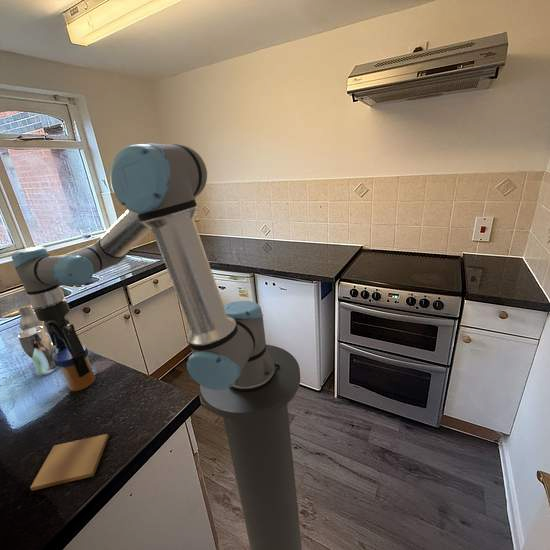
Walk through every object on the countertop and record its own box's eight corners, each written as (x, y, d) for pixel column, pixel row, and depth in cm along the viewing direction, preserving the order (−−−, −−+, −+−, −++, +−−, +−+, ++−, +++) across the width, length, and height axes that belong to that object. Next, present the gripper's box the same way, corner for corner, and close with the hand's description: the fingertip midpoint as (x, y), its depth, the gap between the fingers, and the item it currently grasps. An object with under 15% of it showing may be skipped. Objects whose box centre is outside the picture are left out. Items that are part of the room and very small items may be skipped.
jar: (99, 372, 96) (88, 344, 92) (90, 388, 89) (78, 358, 85) (75, 377, 95) (63, 349, 91) (64, 393, 88) (51, 363, 84)
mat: (109, 436, 72) (107, 433, 72) (93, 476, 63) (92, 473, 63) (55, 448, 70) (53, 445, 70) (31, 491, 61) (29, 487, 61)
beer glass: (64, 365, 102) (48, 327, 96) (43, 378, 96) (24, 339, 90) (52, 361, 104) (36, 324, 99) (30, 374, 99) (11, 335, 93)
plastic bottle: (47, 351, 110) (26, 303, 103) (62, 352, 109) (41, 304, 102) (31, 363, 105) (7, 313, 97) (46, 364, 103) (23, 313, 96)
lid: (50, 369, 84) (47, 363, 84) (64, 352, 92) (62, 346, 91) (81, 364, 86) (79, 358, 85) (92, 347, 93) (90, 342, 92)
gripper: (82, 304, 79) (107, 373, 88) (49, 291, 91) (74, 353, 99) (50, 317, 74) (80, 389, 82) (19, 301, 85) (48, 366, 93)
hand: (77, 369), depth 90 cm, fingers closed on lid, 8 cm apart
